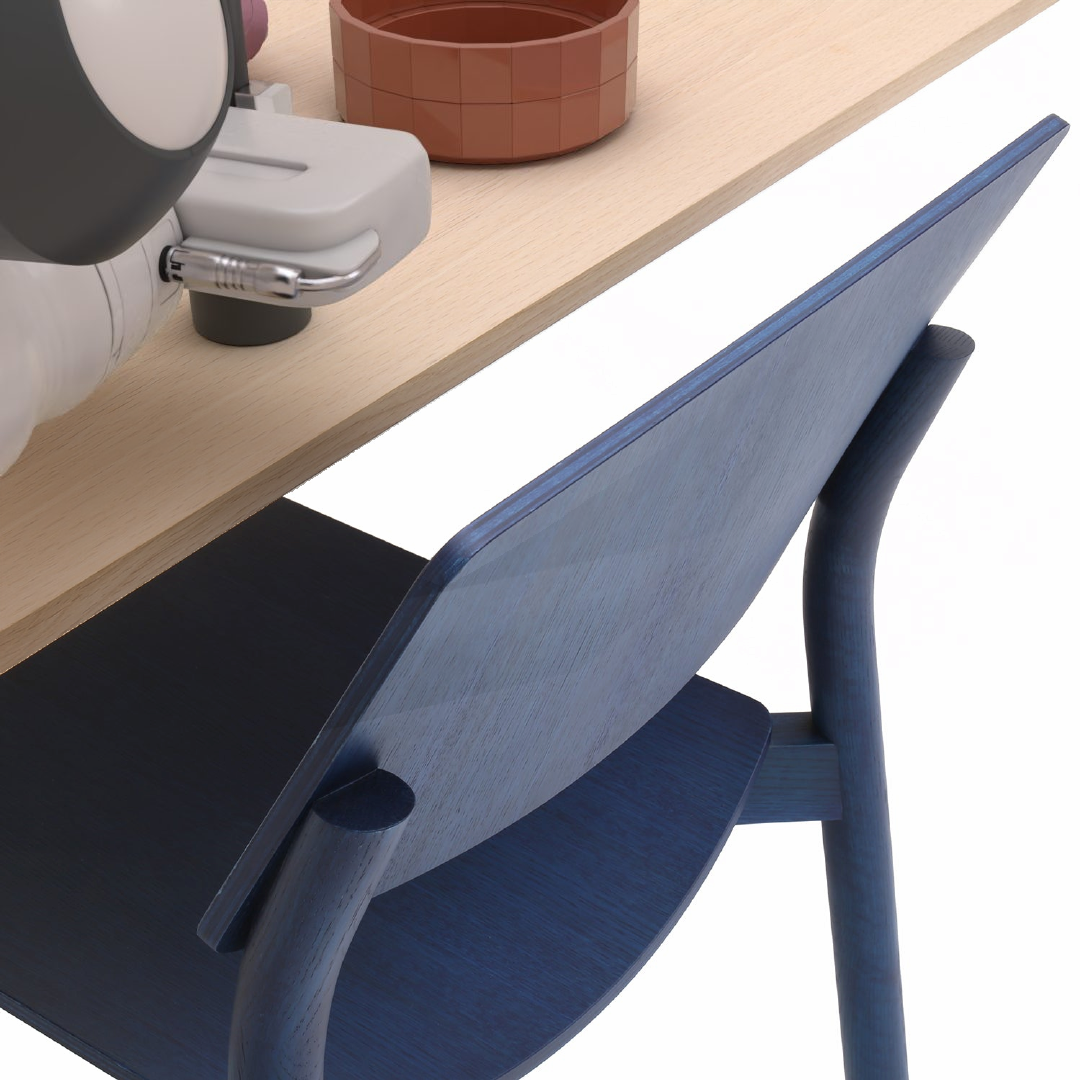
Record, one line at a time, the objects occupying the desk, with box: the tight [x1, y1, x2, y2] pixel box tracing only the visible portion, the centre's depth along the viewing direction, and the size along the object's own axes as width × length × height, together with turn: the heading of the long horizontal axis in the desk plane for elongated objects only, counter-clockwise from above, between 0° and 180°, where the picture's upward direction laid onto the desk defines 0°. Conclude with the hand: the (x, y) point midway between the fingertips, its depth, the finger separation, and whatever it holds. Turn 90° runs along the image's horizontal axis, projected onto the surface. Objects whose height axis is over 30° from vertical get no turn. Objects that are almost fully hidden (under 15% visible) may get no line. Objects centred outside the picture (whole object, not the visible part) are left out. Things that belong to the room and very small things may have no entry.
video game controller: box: [241, 0, 269, 64], centre depth 89 cm, size 10×5×7 cm, turn 31°
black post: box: [188, 0, 313, 346], centre depth 64 cm, size 5×5×16 cm
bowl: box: [328, 0, 641, 165], centre depth 85 cm, size 15×15×6 cm
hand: (240, 96), depth 64 cm, fingers closed on black post
